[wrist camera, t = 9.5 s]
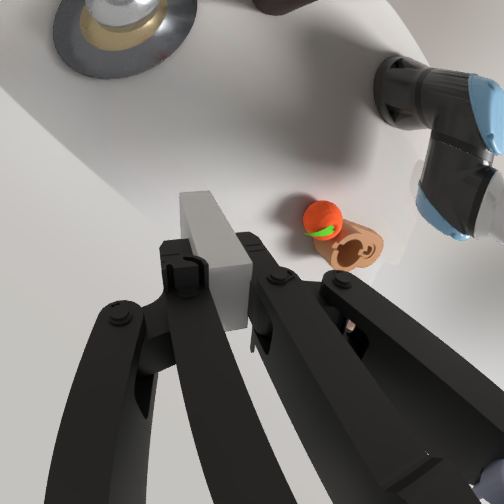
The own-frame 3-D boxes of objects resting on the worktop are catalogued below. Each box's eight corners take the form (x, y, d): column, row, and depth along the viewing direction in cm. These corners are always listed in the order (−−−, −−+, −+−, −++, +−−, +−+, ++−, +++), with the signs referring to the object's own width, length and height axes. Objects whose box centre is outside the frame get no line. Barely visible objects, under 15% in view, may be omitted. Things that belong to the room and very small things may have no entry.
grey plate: (202, -42, 23) (204, -45, 22) (190, 74, 33) (191, 73, 32) (66, -29, 17) (64, -32, 16) (51, 90, 27) (48, 90, 26)
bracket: (305, 249, 56) (323, 269, 50) (324, 212, 53) (345, 228, 47) (364, 263, 64) (382, 280, 59) (381, 232, 61) (401, 248, 55)
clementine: (294, 237, 53) (313, 257, 48) (287, 205, 49) (307, 222, 43) (331, 221, 54) (352, 238, 48) (326, 189, 50) (349, 204, 44)
